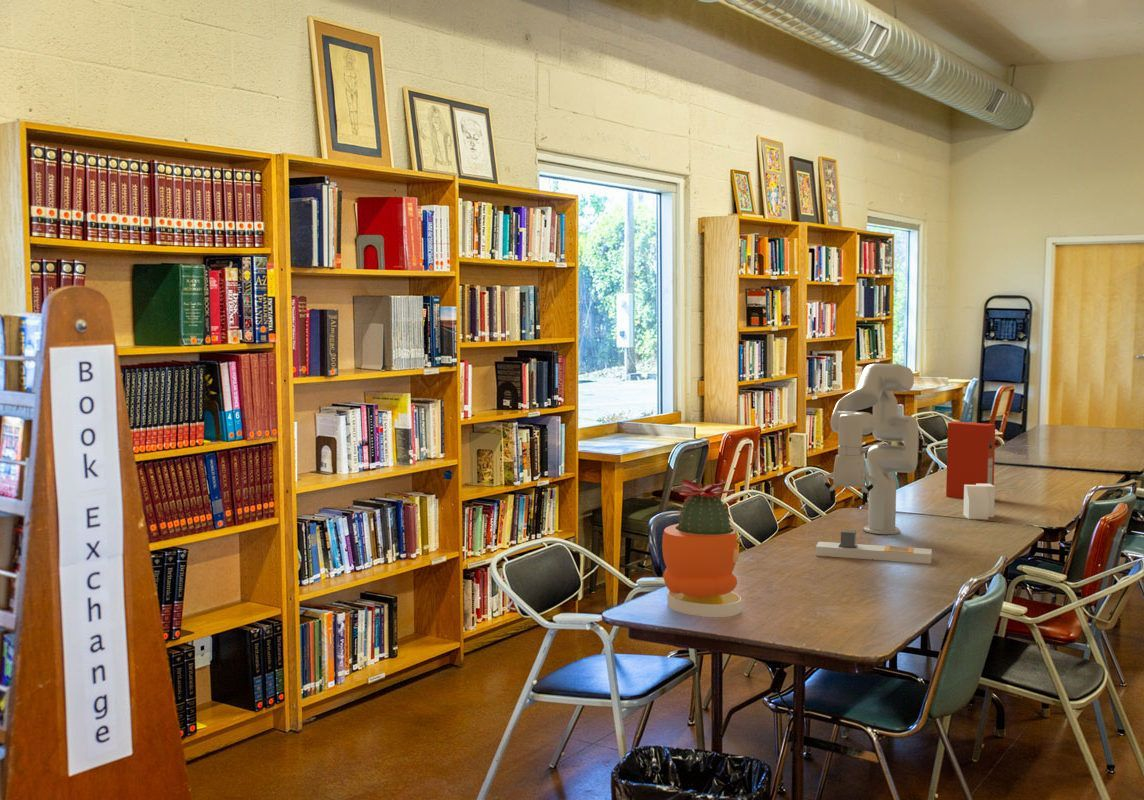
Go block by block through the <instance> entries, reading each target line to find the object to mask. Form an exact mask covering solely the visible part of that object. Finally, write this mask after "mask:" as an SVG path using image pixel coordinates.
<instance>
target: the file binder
mask: <svg viewBox="0 0 1144 800" xmlns="http://www.w3.org/2000/svg"><path fill="white" fill-rule="evenodd" d="M946 438H947V439H946V440H947V442H946V443H947V444H946V485H945V487H946V488H945V489H946V490H945V491H946V492H945V493H946V494H945V497H946V498H952V499H961V500H964V485H976V484H992V485H993V486H995V453H996V452H995V450H996V447H995V446H996V424H995V423H984V422H983V423H982V422H981V423H980V422H969V421H968V422H967V421H951V422H948V423H947V437H946Z"/></svg>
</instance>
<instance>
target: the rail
mask: <svg viewBox="0 0 1144 800" xmlns="http://www.w3.org/2000/svg"><path fill="white" fill-rule="evenodd" d="M932 550H933V548H923V547H919V548H918V547H913V546H901V545H899V546H898V545H877V544H876V545H875V544H862V543H861V544H859V543H856V548H841V542H831V541H830V542H829V541H817V544H816V546H815V556H818V557H829V558H830V557H833V558H843V559H844V558H845V559H859V560H872V559H873V560H875V561H876V560H877V561H888V562H901V563H917V564H918V563H919V564H928V565H929V564H930V565H931V564H932V558H933V556H932V555H933V554H932V552H933V551H932Z"/></svg>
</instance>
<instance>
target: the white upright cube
mask: <svg viewBox="0 0 1144 800" xmlns="http://www.w3.org/2000/svg"><path fill="white" fill-rule="evenodd" d="M995 493H996V486H995V485H994V486H993V485H992V484H976V485H964V499H963V513H962V514H963V516H964V517H966V519H968V520H989V518H994V517H995Z"/></svg>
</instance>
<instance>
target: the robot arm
mask: <svg viewBox="0 0 1144 800" xmlns="http://www.w3.org/2000/svg"><path fill="white" fill-rule="evenodd" d="M914 382H915V377H914V373H913V371H912V369H911V368H909V367H908V366H905V365H902V364H898V363H871V364H868V365H866V366H865V367H864V368H863V370H862V372H861V375H860V378H859V380H858V383H857V385H856V388H855V390H853V391H851V392H849V393H847V394H845V395H844V396H842V397H841V398H840V399H839V400H838V401H837V402H836V403H835V405H834V409H833V411H832V414H831V415H830V416H831V417H830V428H831V430H832V431H833V432H834V433H837V434H838V437H837V439H838V443H837V444H838V446H837V454H836V455H835V458H834V465H833V471H832V472H830V473H827V474H826V475H824V476H822V477H821V479H822V481H823V484H824V486H825V487H826V488H827V489H828V490H829V492H830V494H829V495H830V496H829V497H830V498H829V499H830V501H831V504H835V503H836V490H835V489H836V488H837V487H855V488H861V490H862V491H863V492H862V501H861V502H862V504H861V505H862V506H865V505H866V503H868V511H867V513H868V515H867V516H868V517H867V519H868V521H867V525H865V526H863V531H864V532H866V533H869V534H875V535H895V534H899V533H900V531H901V529H900V528H899V527H897V526H896V514H897V512H896V510H897V509H896V508H897V482H896V480H895V478H894V477H893V475H892V474H891V473H908V474H909V473H913V472H915V471H916V469H917V467H918V456H919V424H918V420H917V419H916V418H915V417H914V416H911V415H903V414H902V415H899V414H898V399H897V398H896V396H895V394H894V393H893V392H902V393H903V392H904V393H905V392H909V391H911V389H912V388H913V386H914ZM871 407H872V413H870V412H867V411H866V412H865V411H860V410H865V409H868V408H871ZM871 433H872V436H873V438H874V439H876V440H877V441H881V442H894V443H902V444H903V445H894V444H874V445H872V446H870V447H869V448H868V450H867V448H864V447H863V436H866V435H870V434H871ZM863 454H866V459H865V456H864V455H863ZM866 462H867V468H868V473H867V472H866ZM831 478H832V483H833V484H831V483H830V482H829V480H828V479H831ZM866 480H868V486H866Z"/></svg>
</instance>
